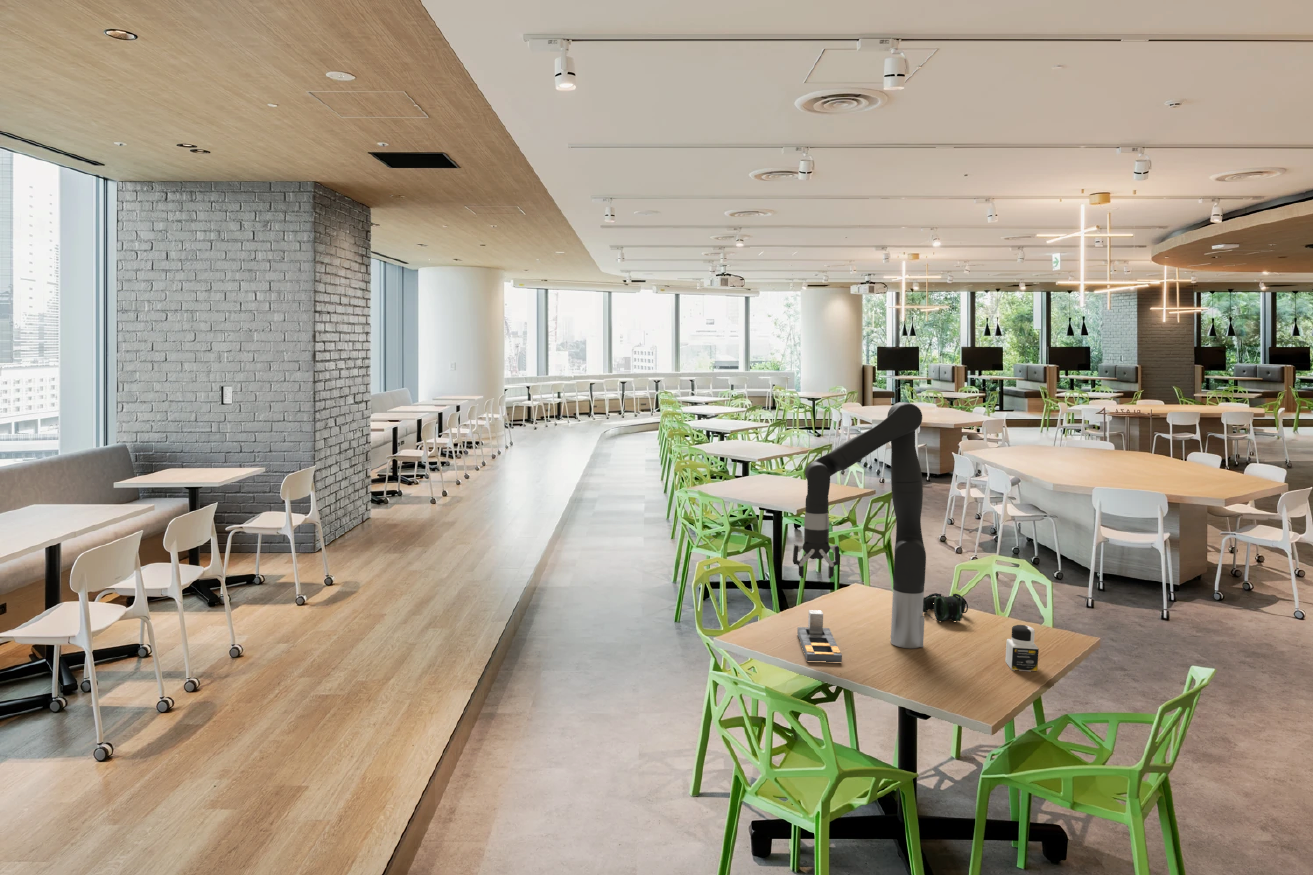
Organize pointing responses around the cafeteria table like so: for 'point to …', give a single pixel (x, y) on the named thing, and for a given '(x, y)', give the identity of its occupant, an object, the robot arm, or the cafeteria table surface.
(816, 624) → the steel block
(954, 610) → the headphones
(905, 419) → the robot arm
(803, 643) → the slotted rack
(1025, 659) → the medicine bottle
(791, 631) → the cafeteria table surface
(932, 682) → the cafeteria table surface
